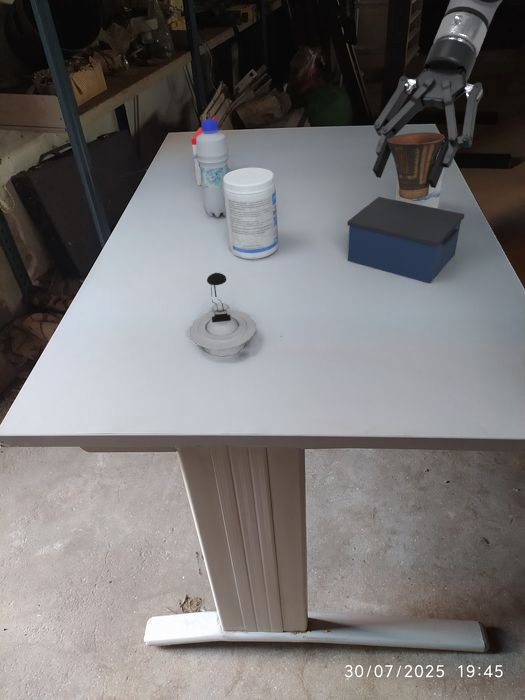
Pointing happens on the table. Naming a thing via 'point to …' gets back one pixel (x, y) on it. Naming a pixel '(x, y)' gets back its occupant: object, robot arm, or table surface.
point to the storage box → (403, 238)
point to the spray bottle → (197, 165)
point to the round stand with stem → (222, 326)
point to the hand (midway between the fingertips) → (403, 178)
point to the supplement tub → (251, 212)
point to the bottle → (212, 166)
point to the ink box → (428, 200)
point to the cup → (415, 161)
